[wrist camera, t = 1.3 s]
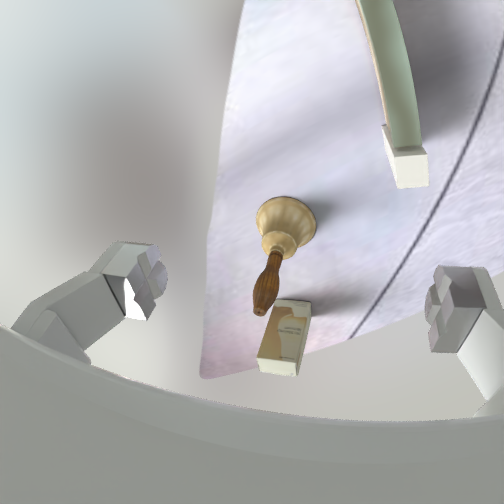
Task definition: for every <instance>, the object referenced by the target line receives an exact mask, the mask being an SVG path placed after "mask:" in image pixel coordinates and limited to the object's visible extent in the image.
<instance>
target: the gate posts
mask: <svg viewBox="0 0 504 504" xmlns="http://www.w3.org/2000/svg"><path fill="white" fill-rule="evenodd" d="M382 132H383V138H384V144H385V150H386V153H387V156H388V159H389V162H390V165H391V169H392V172H393V175H394V178H395V181H396V185H397V188H398V189H401V188H412V187H423V186H429V171H428V156H427V153H426V151H425V150H424V148H423V147H422V145H418V146H406V147H396V148H394V146H393V144H392V138H391V132H390V130H389V128H388V126H387V125H384V126H382Z"/></svg>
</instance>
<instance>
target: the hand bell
mask: <svg viewBox="0 0 504 504" xmlns="http://www.w3.org/2000/svg"><path fill="white" fill-rule="evenodd" d="M256 224H257V228H258V230H259V232H260V234H261V236H262V248H263V250H264V252H265V253H266V254H267V255H268V256H269V258H268V261H267V265H266V268H265V270H264V271H263V272H262V273H261V275H260V276H259V277H258V279H257V281H256V284H255V286H254V290H253V305H254V309H253V312H254V314H255V315H257V316H264V315H265V314H266V312H267V311H268V309H269V308H270V307H271V306H272V304H273V303H274V302H275V300H276V297H277V294H278V291H279V268H280V265H281V262H282V260H285V259H288V258H290V257H292V256H293V255H294V254H295V252H296V250H297V248H299V247H301V246H303V245H305V244H306V243H308V242H309V241H310V240H311V239H312V237H313V236H314V234H315V230H316V221H315V217H314V215H313V213H312V212H311V210H310V209H309V208H308V207H307V206H306V205H305V204H303V203H302V202H300V201H298V200H296V199H293V198H288V197H277V198H273V199H270V200H268V201H266V202H265V203H264V204H263V205H262V206H261V207H260V208H259V210H258V212H257V216H256Z"/></svg>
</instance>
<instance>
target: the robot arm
mask: <svg viewBox="0 0 504 504" xmlns="http://www.w3.org/2000/svg"><path fill="white" fill-rule="evenodd" d="M160 257H161V253H160V251H159V248H158V246H156V245H154V244H146V243H136V242H123V241H116V242H114V243H112V244H111V245H110V247H109V248H108V249H107V250H106V251H105V252H104V253H103V254H102V256H101V257H100V258H99V259H98V260H97V262H96V263H95V264H94V265H93V266H92V267H91V269H90V270H89V271H88V272H83V273H81V274H79V275H78V276H76V277H74V278H72V279H70V280H68V281H67V282H65V283H63V284H61V285H60V286H58V287H56V288H54V289H53V290H51V291H49V292H48V293H46V294H44V295H42V296H41V297H39V298H37V299H36V300H34V301H32V302H31V303H30V304H29V305H28V306H27V308H26V309H25V310H24V311H23V313H22V314H21V315H20V317H19V318H18V319H17V321H16V322H15V323H14V325H13V326H12V327H11V329H10V328H8V327H6V326H4V325H2V324H0V504H504V309H503V308H502V305H501V303H500V300H499V298H498V295H497V293H496V290H495V288H494V285H493V283H492V280H491V278H490V276H489V273H488V271H487V269H485V268H484V267H461V266H446V265H438V267H437V268H436V270H435V273H434V276H433V277H434V281H435V284H433V285H432V286H431V287H430V288H429V290H428V293H427V296H426V301H425V316H426V321H427V322H428V323H429V324H430V325H431V328H430V330H429V332H428V335H429V342H430V349H431V352H437V353H457V354H456V355H457V356H458V357H459V359H460V360H461V362H462V363H463V365H464V366H465V368H466V369H467V371H468V372H469V374H470V375H471V377H472V378H473V380H474V382H475V383H476V385H477V386H478V388H479V390H480V391H481V393H482V394H483V396H484V398H485V399H486V401H487V402H486V403H485V404H484V405H483V406H482V407H481V408H480V409H479V410H478V411H477V412H476V413H475V414H474V415H473V418H463V419H451V420H435V421H408V422H407V421H402V422H401V421H398V422H397V421H393V422H392V421H389V422H388V421H358V420H341V419H328V418H317V417H307V416H299V415H291V414H283V413H276V412H269V411H263V410H256V409H251V408H246V407H240V406H235V405H230V404H224V403H220V402H215V401H211V400H206V399H202V398H198V397H194V396H190V395H186V394H181V393H178V392H174V391H170V390H167V389H163V388H160V387H156V386H153V385H149V384H146V383H143V382H139V381H136V380H133V379H130V378H127V377H124V376H121V375H118V374H115V373H112V372H109V371H107V370H104V369H101V368H98V367H96V366H93V365H91V360H90V358H89V357H88V356H87V354H86V353H85V352H84V350H86V349H87V348H88V347H89V346H91V345H92V344H93V343H94V342H96V341H97V340H98V339H100V338H101V337H102V336H103V335H104V334H106V333H107V332H108V331H110V330H111V329H112V328H113V327H115V326H116V325H117V324H119V323H120V322H121V321H122V320H124V319H125V317H129V318H135V319H140V320H146V321H147V320H148V318H149V316H150V315H151V313H152V311H153V309H154V308H155V306H156V303H155V299H156V298H158V297H160V296H161V295H162V294H163V292H164V290H165V289H166V285H167V280H168V278H167V271H166V268H165V266H164V265H163V264H162V263H161V262H160V261H159V259H160Z"/></svg>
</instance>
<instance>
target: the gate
mask: <svg viewBox="0 0 504 504" xmlns="http://www.w3.org/2000/svg"><path fill="white" fill-rule="evenodd" d="M355 2H356V5H357V8H358V11H359V14H360V17H361V20H362V23H363V27H364V30H365V33H366V37H367V40H368V44H369V48H370V51H371V55H372V59H373V63H374V67H375V71H376V76H377V80H378V84H379V89H380V94H381V99H382V104H383V109H384V114H385V120H386V124H387V126H388V128H389V130H390V132H391V138H392V144H393V146H394V148H396V147H406V146H418V145H422V139H421V130H420V122H419V114H418V108H417V101H416V95H415V89H414V84H413V78H412V73H411V68H410V64H409V59H408V55H407V50H406V46H405V42H404V38H403V34H402V31H401V27H400V23H399V20H398V17H397V13H396V10H395V7H394V4H393V0H355Z"/></svg>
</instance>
